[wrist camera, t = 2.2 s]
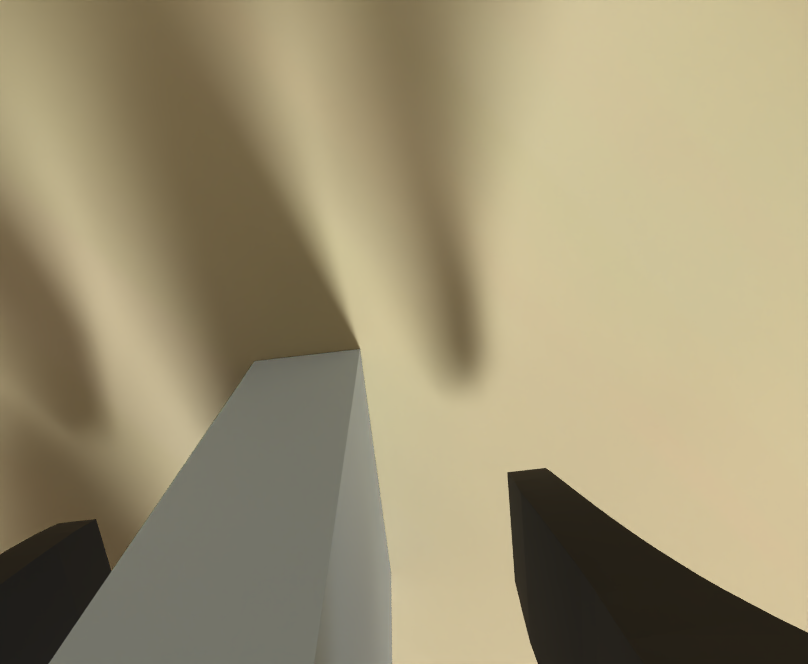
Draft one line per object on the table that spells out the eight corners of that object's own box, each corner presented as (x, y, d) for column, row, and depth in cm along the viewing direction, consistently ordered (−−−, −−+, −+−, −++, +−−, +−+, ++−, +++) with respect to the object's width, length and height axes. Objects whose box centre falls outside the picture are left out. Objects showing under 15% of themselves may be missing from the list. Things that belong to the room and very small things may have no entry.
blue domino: (391, 573, 12) (400, 1521, 4) (297, 583, 12) (89, 1554, 4) (359, 349, 11) (262, 1019, 2) (254, 361, 11) (-231, 1076, 2)
